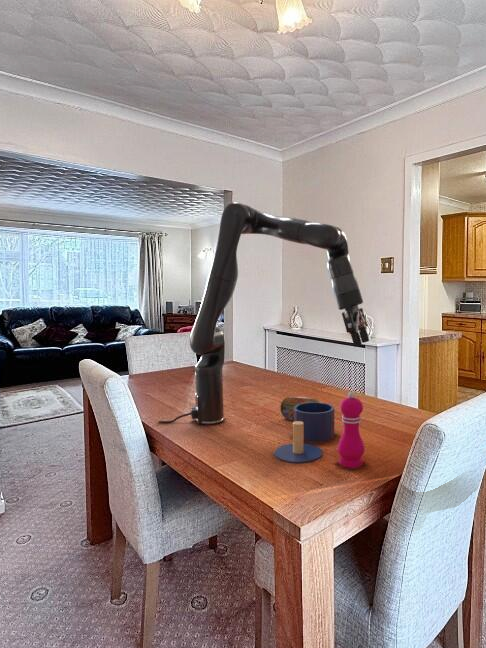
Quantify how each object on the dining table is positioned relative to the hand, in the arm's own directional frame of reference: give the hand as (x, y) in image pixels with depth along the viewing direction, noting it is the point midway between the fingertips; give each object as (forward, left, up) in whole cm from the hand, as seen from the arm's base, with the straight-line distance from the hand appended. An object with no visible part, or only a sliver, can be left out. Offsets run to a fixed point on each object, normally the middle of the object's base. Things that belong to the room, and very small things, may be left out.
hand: (362, 343), depth 135 cm
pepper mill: (-11, -14, -30) cm, 35 cm away
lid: (-21, -3, -30) cm, 37 cm away
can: (-12, +10, -30) cm, 34 cm away
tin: (-10, +27, -30) cm, 42 cm away
